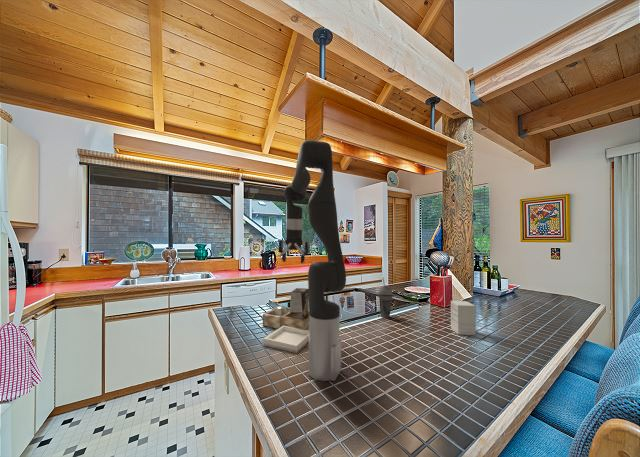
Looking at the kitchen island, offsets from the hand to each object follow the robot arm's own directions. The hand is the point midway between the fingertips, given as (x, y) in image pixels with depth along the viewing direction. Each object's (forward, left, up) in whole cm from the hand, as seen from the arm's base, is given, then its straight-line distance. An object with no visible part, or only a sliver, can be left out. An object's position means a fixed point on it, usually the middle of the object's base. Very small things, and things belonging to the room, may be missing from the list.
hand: (293, 262), depth 115 cm
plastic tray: (-9, +19, -28) cm, 35 cm away
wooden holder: (-1, +3, -28) cm, 28 cm away
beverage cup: (-39, -27, -28) cm, 56 cm away
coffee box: (-5, +3, -28) cm, 29 cm away
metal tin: (+5, +3, -28) cm, 29 cm away
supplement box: (-73, -22, -28) cm, 82 cm away
